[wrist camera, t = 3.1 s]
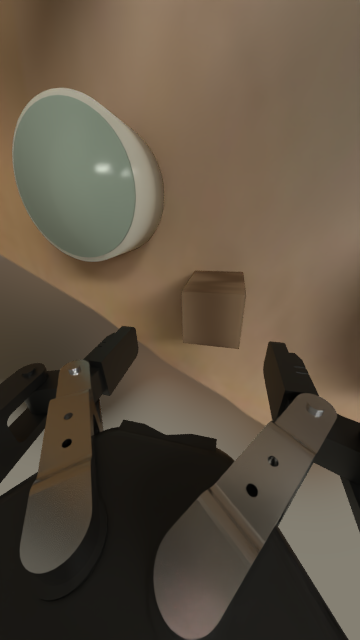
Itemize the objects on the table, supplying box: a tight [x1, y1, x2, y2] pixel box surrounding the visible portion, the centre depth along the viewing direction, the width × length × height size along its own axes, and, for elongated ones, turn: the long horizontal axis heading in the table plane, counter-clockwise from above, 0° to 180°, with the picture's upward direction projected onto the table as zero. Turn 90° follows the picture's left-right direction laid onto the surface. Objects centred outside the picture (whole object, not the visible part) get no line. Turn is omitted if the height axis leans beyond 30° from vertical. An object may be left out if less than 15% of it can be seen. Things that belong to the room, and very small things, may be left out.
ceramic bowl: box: [12, 88, 164, 262], centre depth 16 cm, size 10×10×5 cm
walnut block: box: [181, 271, 246, 349], centre depth 18 cm, size 4×4×6 cm
